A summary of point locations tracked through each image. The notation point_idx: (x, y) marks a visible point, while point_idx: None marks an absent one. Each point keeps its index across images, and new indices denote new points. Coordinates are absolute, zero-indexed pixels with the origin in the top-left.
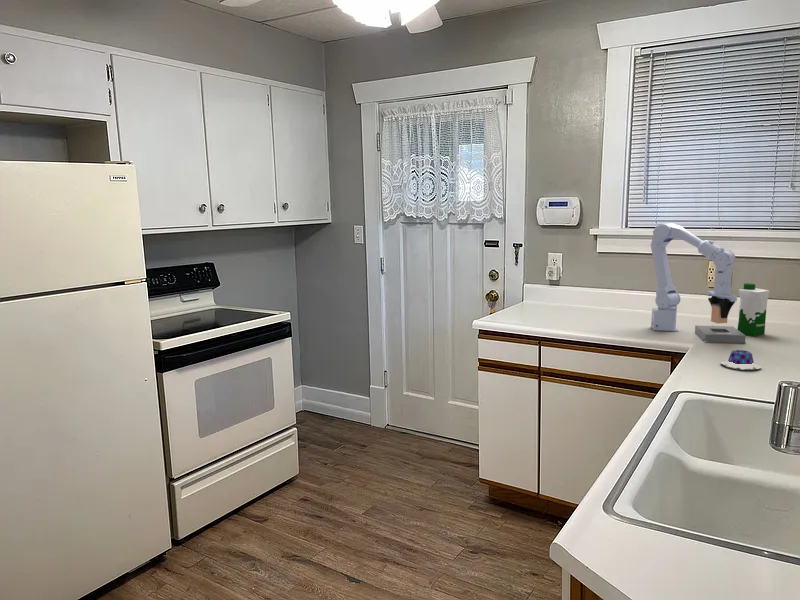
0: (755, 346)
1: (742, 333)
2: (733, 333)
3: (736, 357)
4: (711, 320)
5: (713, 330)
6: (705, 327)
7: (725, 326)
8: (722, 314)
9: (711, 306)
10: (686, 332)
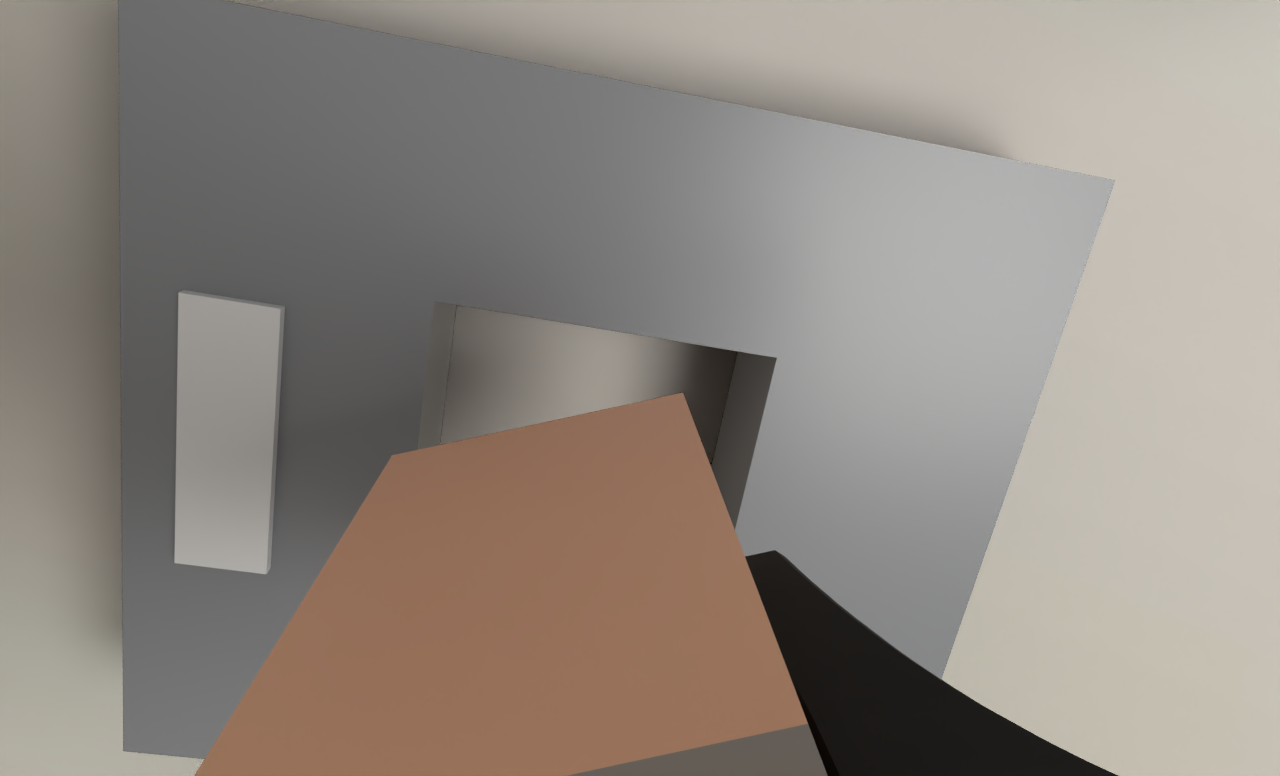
0: (7, 714)
1: None
2: None
3: None
4: (665, 406)
5: (748, 426)
6: (878, 319)
7: None
8: None
9: (975, 704)
10: (1072, 6)
